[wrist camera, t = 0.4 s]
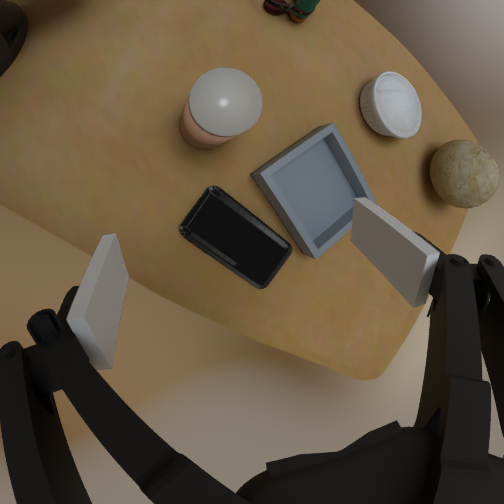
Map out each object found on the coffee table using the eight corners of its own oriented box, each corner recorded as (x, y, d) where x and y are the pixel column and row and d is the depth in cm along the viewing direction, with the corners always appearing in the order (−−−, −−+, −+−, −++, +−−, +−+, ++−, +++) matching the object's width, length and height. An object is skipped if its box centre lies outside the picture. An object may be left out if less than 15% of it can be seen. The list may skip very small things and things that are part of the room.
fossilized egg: (443, 133, 50) (502, 131, 36) (457, 189, 54) (513, 196, 41) (408, 152, 48) (475, 151, 34) (426, 214, 52) (488, 226, 38)
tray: (250, 174, 40) (260, 173, 37) (319, 126, 42) (333, 122, 38) (302, 253, 45) (315, 259, 42) (361, 202, 47) (377, 205, 43)
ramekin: (374, 67, 43) (394, 59, 38) (409, 115, 47) (430, 112, 42) (342, 101, 42) (362, 94, 37) (382, 153, 46) (403, 151, 42)
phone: (212, 182, 38) (295, 248, 44) (211, 182, 40) (292, 246, 45) (175, 231, 38) (262, 292, 44) (175, 230, 39) (260, 290, 45)
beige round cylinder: (168, 118, 36) (174, 91, 24) (212, 89, 36) (236, 56, 25) (199, 160, 38) (217, 150, 27) (242, 130, 39) (275, 111, 28)
